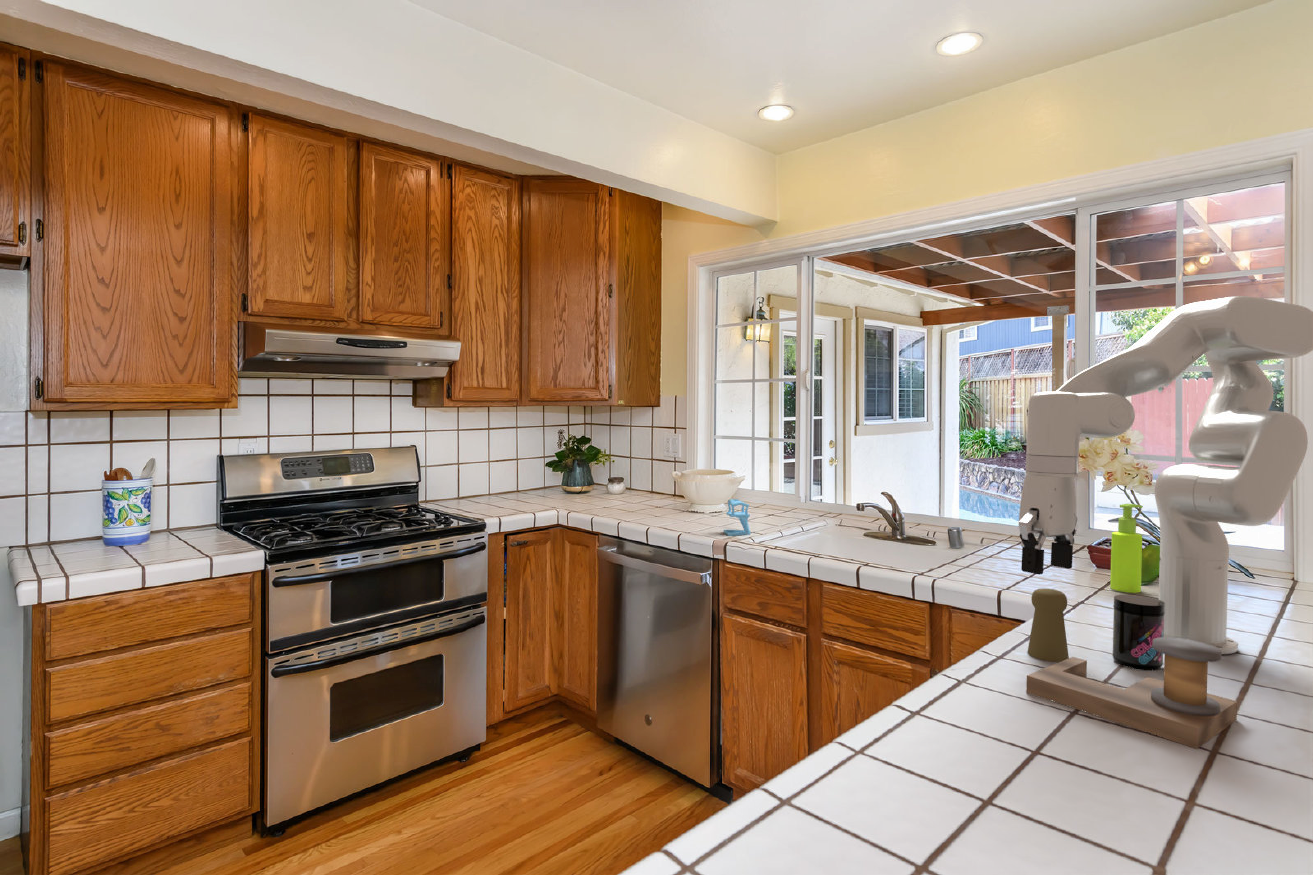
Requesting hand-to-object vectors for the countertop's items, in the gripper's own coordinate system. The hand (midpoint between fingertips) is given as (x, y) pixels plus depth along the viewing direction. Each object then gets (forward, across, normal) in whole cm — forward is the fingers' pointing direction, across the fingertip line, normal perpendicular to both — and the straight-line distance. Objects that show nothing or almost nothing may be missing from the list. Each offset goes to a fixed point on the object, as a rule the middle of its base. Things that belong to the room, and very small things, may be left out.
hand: (1047, 569), depth 112 cm
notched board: (+14, +11, +16) cm, 24 cm away
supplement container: (+14, -9, +10) cm, 20 cm away
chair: (+15, -38, -119) cm, 125 cm away
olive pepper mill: (+14, -1, 0) cm, 15 cm away
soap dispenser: (+13, -64, -12) cm, 66 cm away
